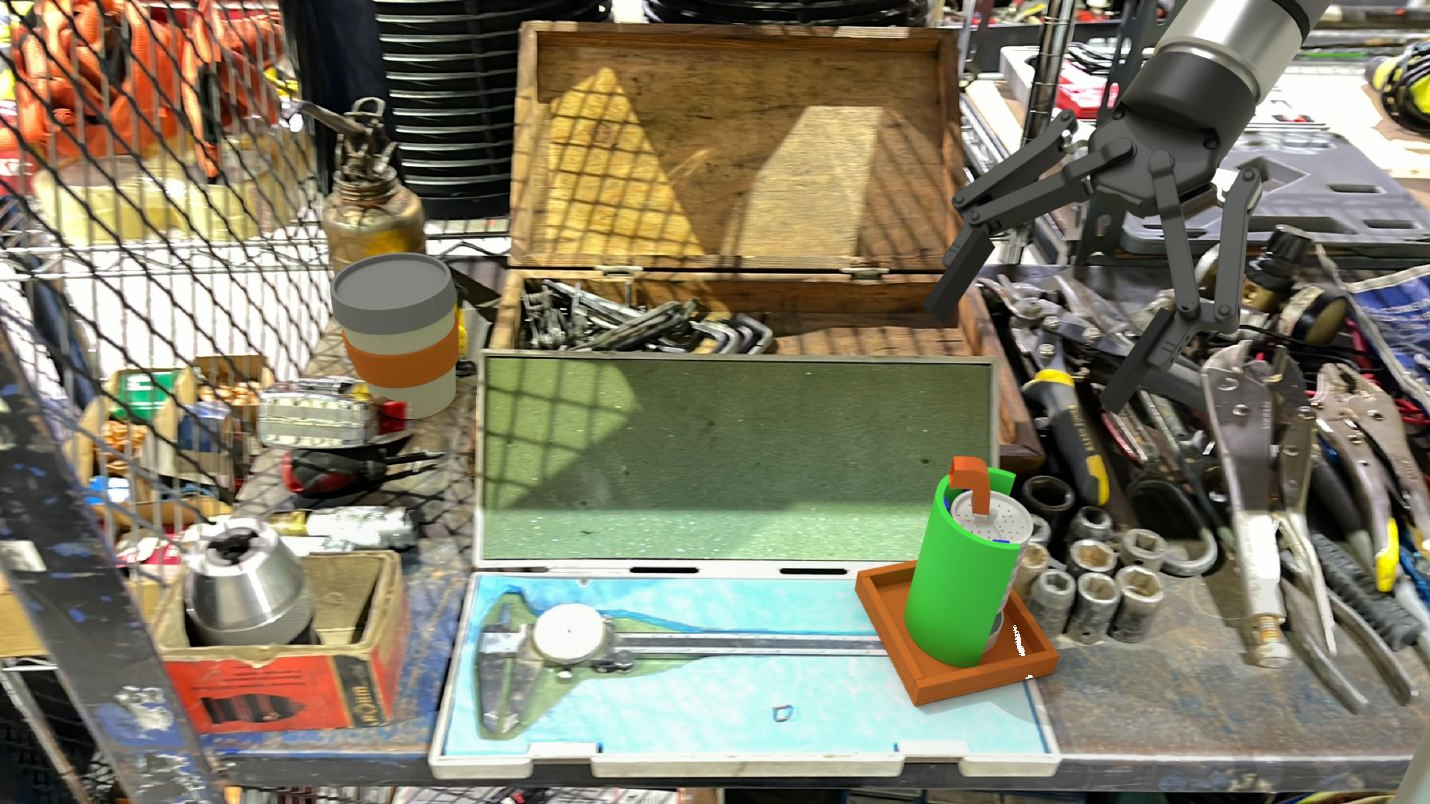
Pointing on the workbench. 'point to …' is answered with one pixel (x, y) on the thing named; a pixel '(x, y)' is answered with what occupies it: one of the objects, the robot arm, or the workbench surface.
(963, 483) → the green-shelled ribbed roller
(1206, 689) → the workbench surface
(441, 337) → the reusable coffee cup
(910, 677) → the shallow square tray
